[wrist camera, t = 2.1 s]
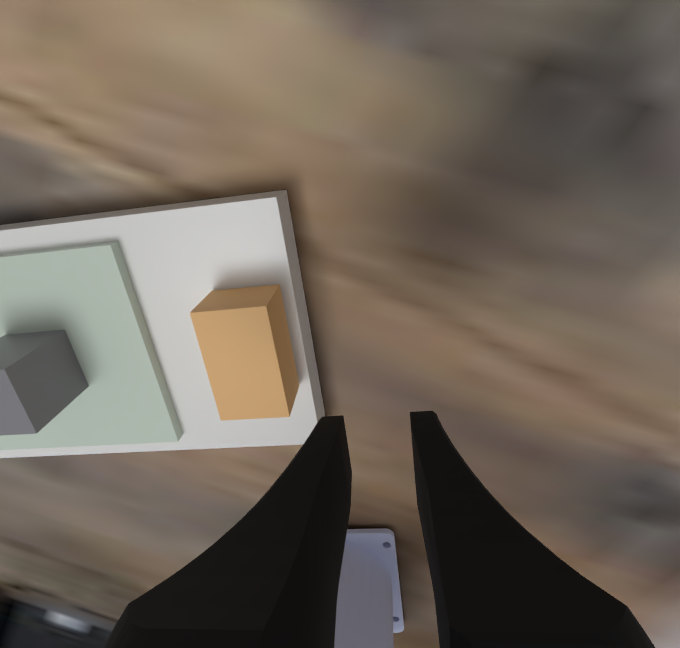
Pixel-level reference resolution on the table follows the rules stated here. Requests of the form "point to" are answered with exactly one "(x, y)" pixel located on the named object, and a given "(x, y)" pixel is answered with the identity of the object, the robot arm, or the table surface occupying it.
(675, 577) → the table surface
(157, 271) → the white layered base plate
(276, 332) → the slider
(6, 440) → the cover
